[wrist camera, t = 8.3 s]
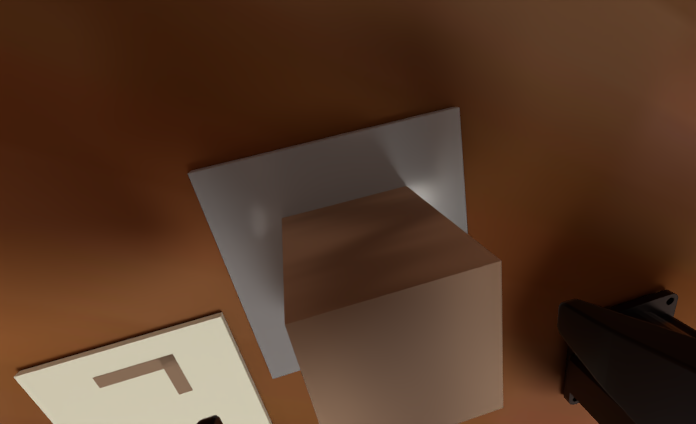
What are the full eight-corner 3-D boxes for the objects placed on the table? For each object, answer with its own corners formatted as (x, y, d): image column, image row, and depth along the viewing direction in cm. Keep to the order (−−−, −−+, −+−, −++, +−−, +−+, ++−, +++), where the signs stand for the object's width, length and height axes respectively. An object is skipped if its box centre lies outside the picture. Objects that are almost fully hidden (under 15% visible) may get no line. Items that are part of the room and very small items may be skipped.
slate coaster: (454, 106, 13) (459, 107, 12) (468, 310, 16) (473, 315, 16) (190, 170, 12) (187, 173, 11) (273, 371, 15) (273, 378, 15)
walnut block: (406, 185, 13) (501, 260, 7) (420, 288, 15) (503, 407, 9) (281, 218, 12) (284, 324, 7) (312, 320, 14) (334, 466, 9)
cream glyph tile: (222, 311, 14) (220, 317, 13) (276, 432, 17) (276, 438, 17) (19, 371, 13) (13, 377, 13) (116, 486, 16) (113, 493, 16)
